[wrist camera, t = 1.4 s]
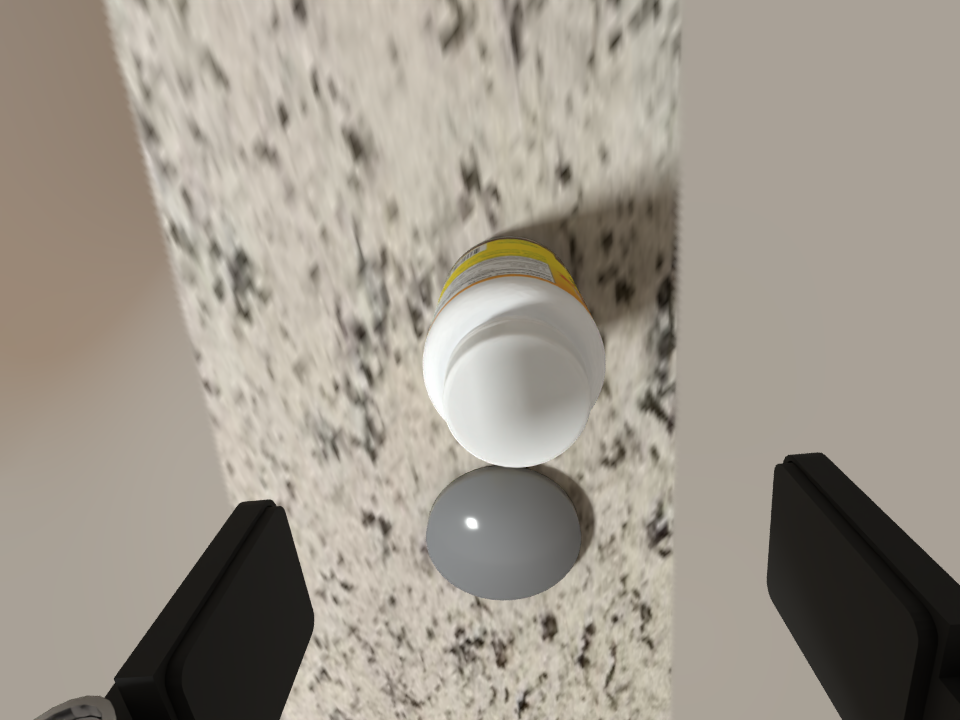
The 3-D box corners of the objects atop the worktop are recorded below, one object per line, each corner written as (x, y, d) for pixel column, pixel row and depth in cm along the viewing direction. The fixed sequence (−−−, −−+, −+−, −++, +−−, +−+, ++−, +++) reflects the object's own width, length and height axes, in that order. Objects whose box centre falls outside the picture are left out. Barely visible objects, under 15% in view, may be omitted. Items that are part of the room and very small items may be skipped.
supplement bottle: (566, 363, 26) (606, 502, 16) (441, 354, 26) (408, 488, 16) (583, 237, 24) (640, 312, 14) (446, 227, 24) (412, 295, 14)
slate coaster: (416, 472, 28) (414, 482, 27) (574, 458, 27) (576, 468, 27) (439, 593, 31) (438, 605, 30) (582, 583, 30) (585, 594, 30)
